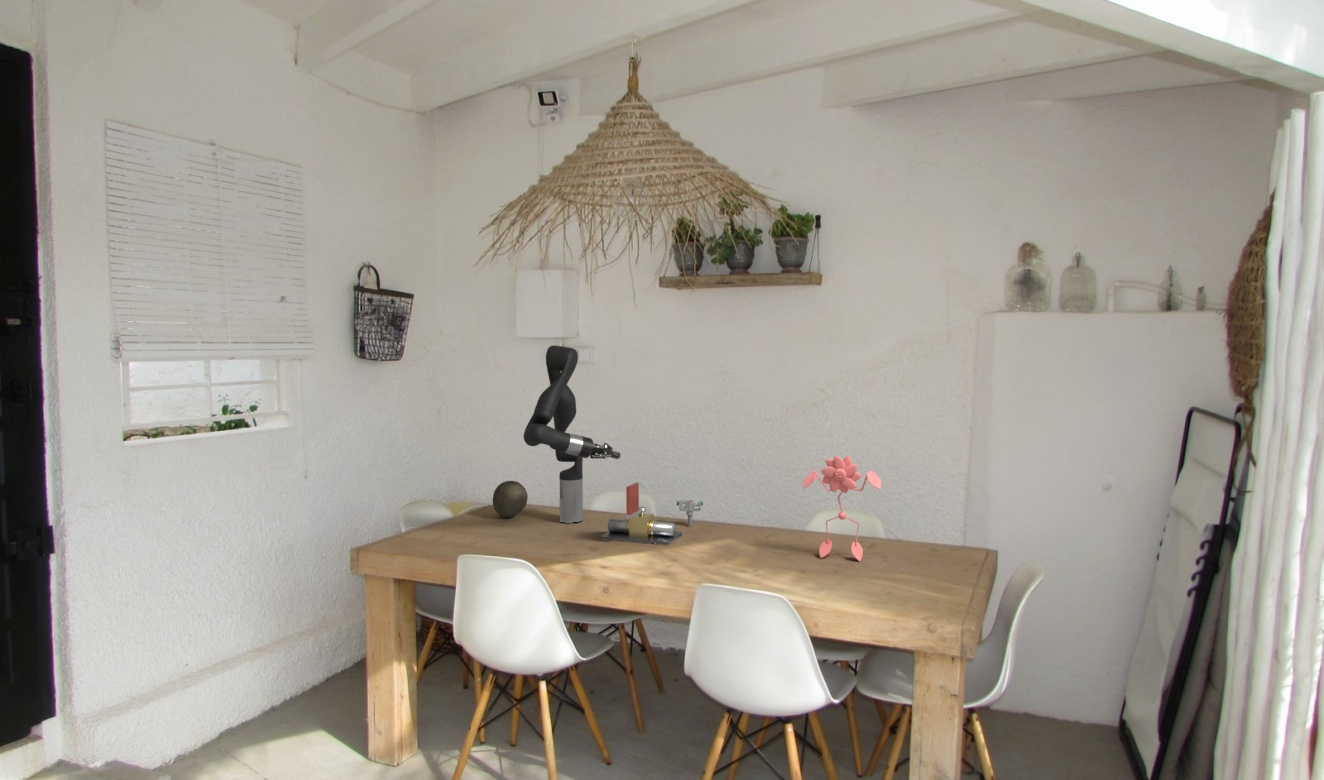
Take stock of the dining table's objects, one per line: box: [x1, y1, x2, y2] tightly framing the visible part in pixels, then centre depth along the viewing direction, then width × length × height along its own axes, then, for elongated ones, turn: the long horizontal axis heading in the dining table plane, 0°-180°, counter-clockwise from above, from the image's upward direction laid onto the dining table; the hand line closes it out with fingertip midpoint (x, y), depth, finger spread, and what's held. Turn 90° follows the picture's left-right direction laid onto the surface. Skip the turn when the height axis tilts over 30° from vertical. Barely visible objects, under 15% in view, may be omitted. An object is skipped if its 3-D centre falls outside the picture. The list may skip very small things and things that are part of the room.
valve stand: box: [600, 512, 683, 546], centre depth 306 cm, size 26×16×10 cm, turn 71°
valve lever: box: [625, 482, 647, 519], centre depth 299 cm, size 3×15×11 cm, turn 161°
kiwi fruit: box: [492, 480, 529, 519], centre depth 340 cm, size 14×14×15 cm
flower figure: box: [802, 455, 882, 562], centre depth 271 cm, size 15×26×35 cm, turn 68°
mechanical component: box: [676, 499, 704, 527], centre depth 324 cm, size 3×10×10 cm, turn 89°
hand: (619, 456), depth 311 cm, fingers closed
